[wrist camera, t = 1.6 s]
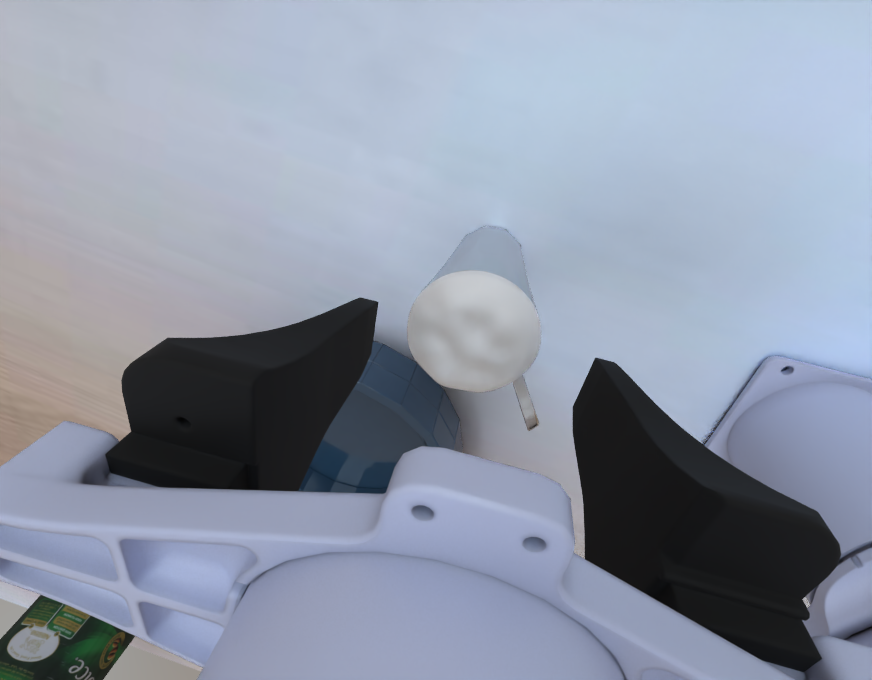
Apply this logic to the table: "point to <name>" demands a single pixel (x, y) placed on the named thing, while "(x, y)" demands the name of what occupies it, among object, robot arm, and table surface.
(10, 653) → the coffee jar
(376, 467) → the bowl
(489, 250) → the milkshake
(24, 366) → the table surface
